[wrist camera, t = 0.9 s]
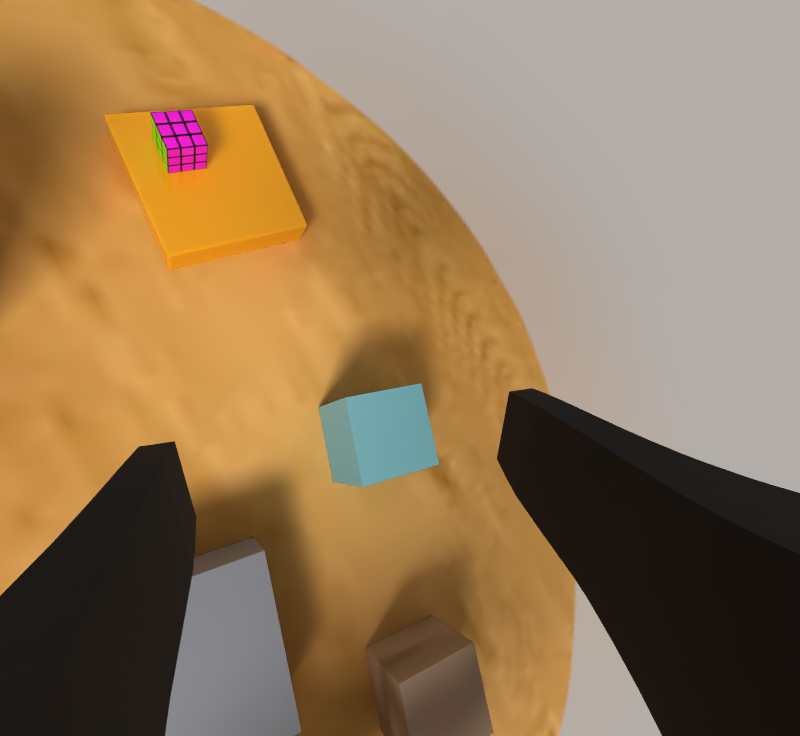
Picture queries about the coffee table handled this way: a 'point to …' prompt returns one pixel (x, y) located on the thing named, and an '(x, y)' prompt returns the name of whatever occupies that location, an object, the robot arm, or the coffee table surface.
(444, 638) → the walnut block
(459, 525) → the coffee table surface
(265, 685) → the gray base block
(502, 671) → the coffee table surface
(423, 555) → the coffee table surface
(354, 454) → the teal block
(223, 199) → the orange square tile
